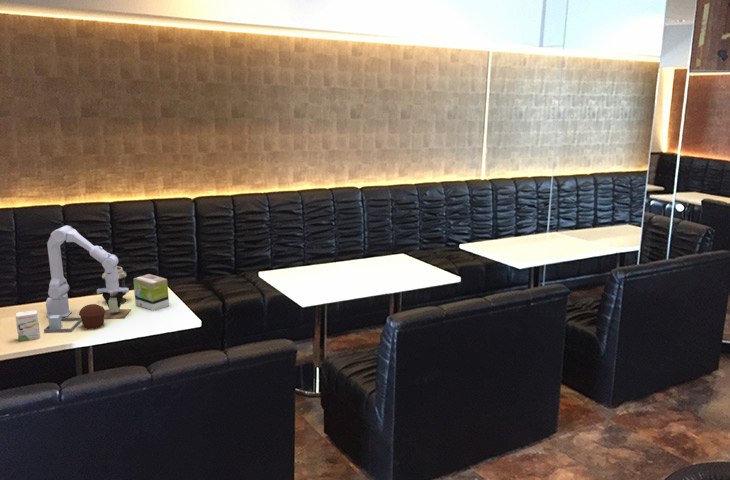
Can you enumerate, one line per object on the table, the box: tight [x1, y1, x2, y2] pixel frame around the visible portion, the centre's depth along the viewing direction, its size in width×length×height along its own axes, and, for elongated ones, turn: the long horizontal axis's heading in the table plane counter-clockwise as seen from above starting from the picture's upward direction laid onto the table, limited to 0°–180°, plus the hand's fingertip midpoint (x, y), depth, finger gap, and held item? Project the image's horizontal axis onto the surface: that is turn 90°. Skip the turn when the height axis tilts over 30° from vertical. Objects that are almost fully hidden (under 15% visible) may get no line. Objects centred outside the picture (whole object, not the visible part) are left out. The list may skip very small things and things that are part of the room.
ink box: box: [15, 309, 41, 342], centre depth 281 cm, size 8×5×12 cm, turn 119°
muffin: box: [78, 303, 106, 330], centre depth 296 cm, size 12×11×10 cm
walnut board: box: [104, 308, 132, 320], centre depth 312 cm, size 12×12×1 cm
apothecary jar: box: [101, 265, 128, 304], centre depth 329 cm, size 12×12×18 cm
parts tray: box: [43, 316, 82, 334], centre depth 296 cm, size 12×15×2 cm
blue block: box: [47, 315, 63, 329], centre depth 292 cm, size 4×4×6 cm
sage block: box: [108, 298, 121, 312], centre depth 311 cm, size 4×4×6 cm
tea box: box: [132, 273, 170, 312], centre depth 323 cm, size 15×10×15 cm, turn 55°
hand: (114, 306), depth 311 cm, fingers closed on sage block, 4 cm apart
